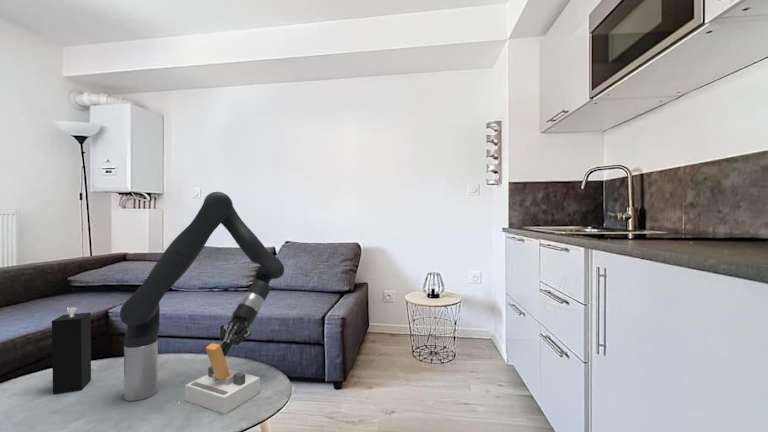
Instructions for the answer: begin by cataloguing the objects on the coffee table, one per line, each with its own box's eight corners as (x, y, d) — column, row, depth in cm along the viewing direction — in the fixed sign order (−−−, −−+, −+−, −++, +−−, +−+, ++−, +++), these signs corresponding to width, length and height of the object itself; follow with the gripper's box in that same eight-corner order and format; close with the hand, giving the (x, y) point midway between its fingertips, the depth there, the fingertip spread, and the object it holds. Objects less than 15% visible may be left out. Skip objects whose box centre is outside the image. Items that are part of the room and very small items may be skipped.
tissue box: (81, 390, 118) (80, 308, 118) (52, 394, 115) (51, 311, 115) (91, 380, 125) (90, 303, 125) (63, 384, 122) (63, 305, 122)
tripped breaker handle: (216, 380, 114) (205, 347, 110) (222, 375, 116) (211, 342, 112) (225, 382, 112) (214, 349, 108) (231, 377, 114) (220, 344, 110)
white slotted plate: (185, 400, 111) (185, 375, 111) (222, 381, 124) (222, 359, 124) (224, 414, 104) (224, 387, 103) (259, 392, 116) (259, 368, 116)
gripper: (229, 300, 124) (199, 347, 113) (256, 304, 118) (228, 353, 108) (241, 311, 129) (213, 356, 118) (268, 315, 123) (242, 363, 113)
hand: (220, 355), depth 113 cm, fingers closed
